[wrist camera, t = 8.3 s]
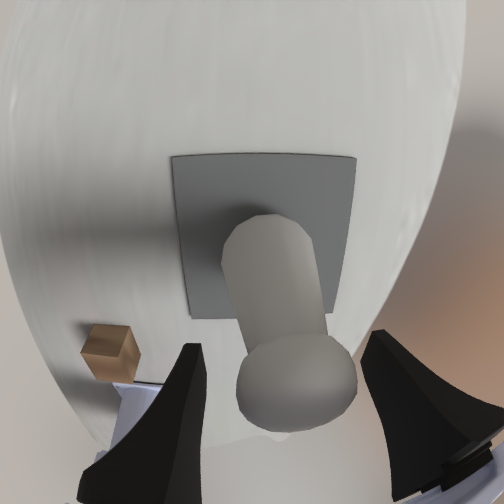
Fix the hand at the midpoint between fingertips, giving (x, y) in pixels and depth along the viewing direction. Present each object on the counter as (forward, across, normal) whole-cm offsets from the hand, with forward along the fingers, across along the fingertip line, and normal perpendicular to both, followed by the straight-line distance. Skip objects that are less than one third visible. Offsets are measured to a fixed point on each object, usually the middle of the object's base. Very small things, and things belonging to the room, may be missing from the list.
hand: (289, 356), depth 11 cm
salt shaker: (+10, 0, 0) cm, 10 cm away
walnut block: (+10, +14, +10) cm, 20 cm away
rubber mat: (+10, 0, 0) cm, 10 cm away
